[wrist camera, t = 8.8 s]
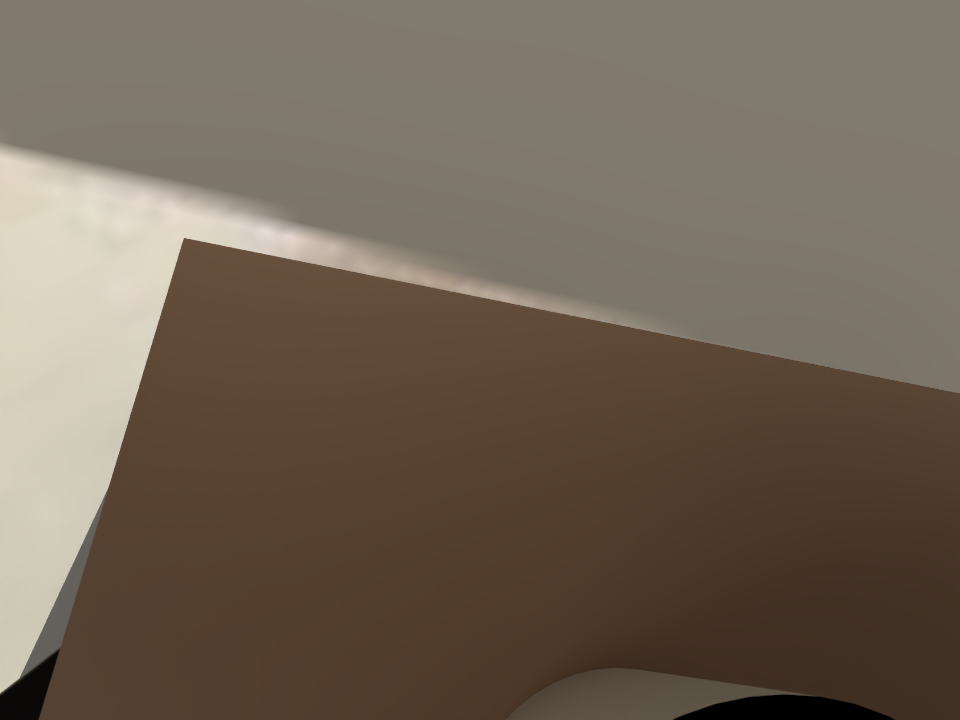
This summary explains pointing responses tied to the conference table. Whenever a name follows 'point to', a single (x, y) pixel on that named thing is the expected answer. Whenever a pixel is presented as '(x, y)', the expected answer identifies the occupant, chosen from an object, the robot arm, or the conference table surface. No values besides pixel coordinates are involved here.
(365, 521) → the block
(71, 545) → the conference table surface
